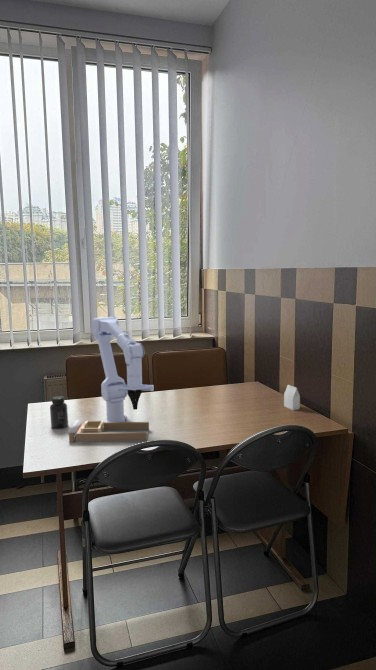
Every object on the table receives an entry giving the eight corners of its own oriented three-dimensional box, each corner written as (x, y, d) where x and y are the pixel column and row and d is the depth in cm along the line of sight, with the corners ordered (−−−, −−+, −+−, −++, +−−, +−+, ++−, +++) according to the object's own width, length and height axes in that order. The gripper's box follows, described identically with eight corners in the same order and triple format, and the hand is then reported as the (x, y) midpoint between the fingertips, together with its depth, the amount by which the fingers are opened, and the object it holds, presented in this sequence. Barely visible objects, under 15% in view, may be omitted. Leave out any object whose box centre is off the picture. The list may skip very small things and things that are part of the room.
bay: (75, 430, 191) (74, 418, 190) (149, 429, 191) (148, 417, 190) (67, 442, 178) (66, 430, 177) (146, 441, 178) (146, 429, 177)
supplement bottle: (69, 423, 200) (68, 395, 198) (66, 428, 193) (64, 399, 191) (53, 423, 200) (51, 395, 198) (49, 428, 193) (47, 400, 191)
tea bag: (292, 410, 215) (293, 388, 214) (283, 406, 221) (284, 385, 220) (299, 409, 217) (300, 387, 215) (290, 405, 223) (291, 384, 221)
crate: (86, 430, 189) (85, 420, 188) (104, 430, 189) (103, 420, 188) (81, 438, 180) (81, 428, 179) (100, 438, 180) (99, 428, 179)
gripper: (114, 377, 181) (115, 412, 183) (152, 377, 181) (153, 411, 183) (116, 373, 188) (117, 406, 190) (153, 372, 188) (154, 406, 190)
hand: (135, 408), depth 187 cm, fingers closed
